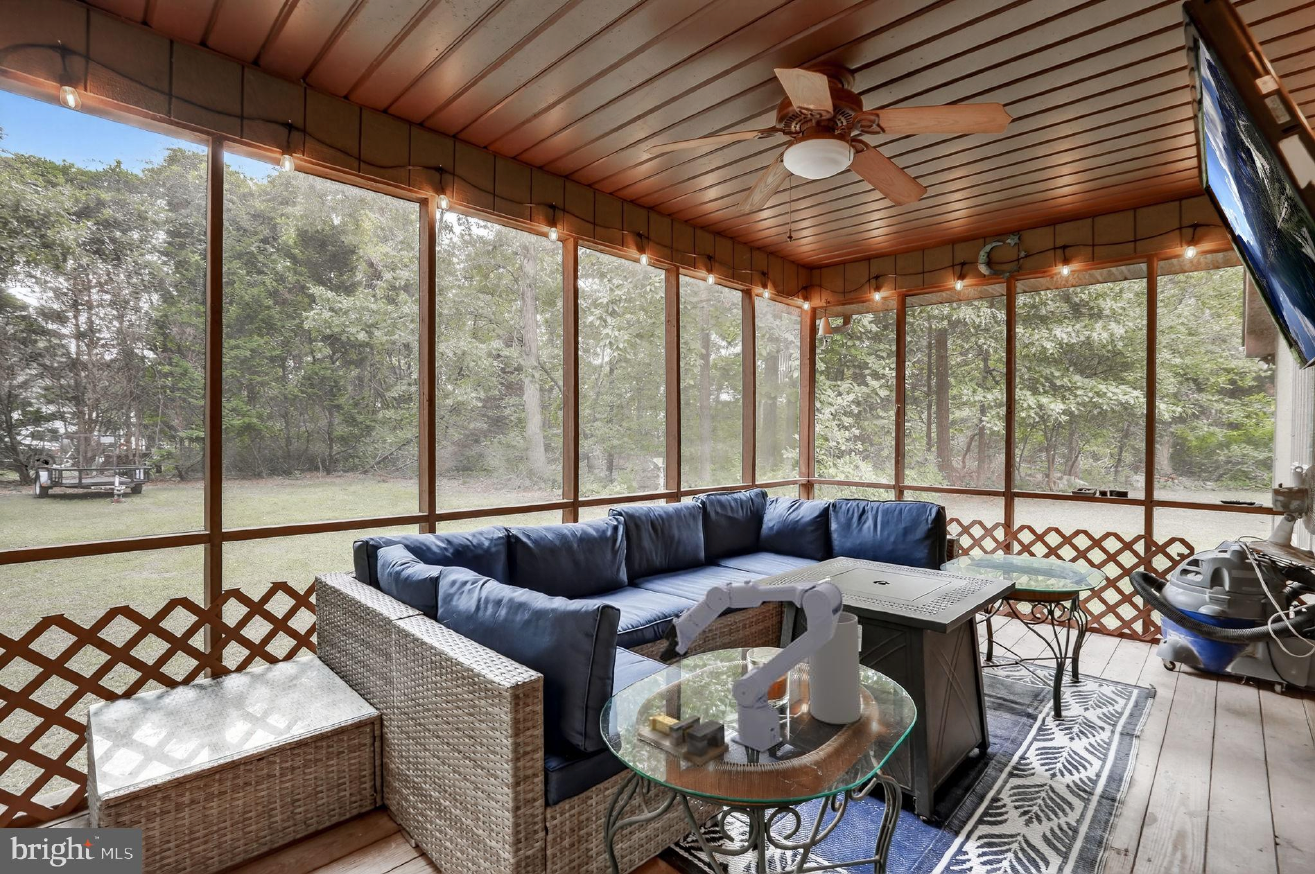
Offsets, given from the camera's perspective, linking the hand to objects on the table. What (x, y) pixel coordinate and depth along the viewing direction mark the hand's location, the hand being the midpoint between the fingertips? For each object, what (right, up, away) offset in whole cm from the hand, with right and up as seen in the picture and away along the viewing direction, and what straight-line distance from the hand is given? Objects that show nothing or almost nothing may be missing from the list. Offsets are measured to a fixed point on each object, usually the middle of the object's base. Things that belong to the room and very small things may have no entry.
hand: (664, 649), depth 165 cm
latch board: (+4, -18, -14) cm, 23 cm away
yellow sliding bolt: (+2, -16, -12) cm, 20 cm away
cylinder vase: (+44, -17, -1) cm, 47 cm away
